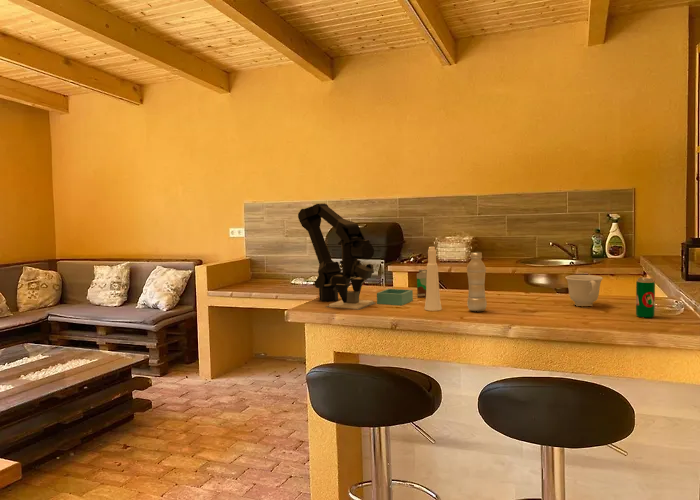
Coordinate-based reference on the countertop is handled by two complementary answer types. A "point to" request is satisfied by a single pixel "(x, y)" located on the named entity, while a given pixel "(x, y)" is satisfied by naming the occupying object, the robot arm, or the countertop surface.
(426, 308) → the cosmetic bottle
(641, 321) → the countertop surface
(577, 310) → the countertop surface
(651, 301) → the soda can
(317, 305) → the countertop surface
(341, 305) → the lid
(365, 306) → the mat
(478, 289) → the plastic bottle
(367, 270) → the robot arm
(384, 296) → the dish
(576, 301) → the teacup
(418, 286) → the food container
